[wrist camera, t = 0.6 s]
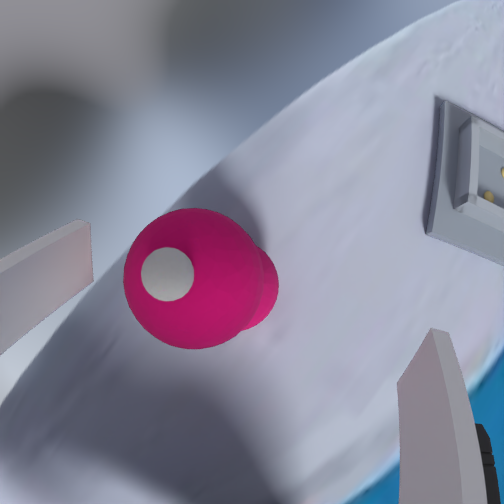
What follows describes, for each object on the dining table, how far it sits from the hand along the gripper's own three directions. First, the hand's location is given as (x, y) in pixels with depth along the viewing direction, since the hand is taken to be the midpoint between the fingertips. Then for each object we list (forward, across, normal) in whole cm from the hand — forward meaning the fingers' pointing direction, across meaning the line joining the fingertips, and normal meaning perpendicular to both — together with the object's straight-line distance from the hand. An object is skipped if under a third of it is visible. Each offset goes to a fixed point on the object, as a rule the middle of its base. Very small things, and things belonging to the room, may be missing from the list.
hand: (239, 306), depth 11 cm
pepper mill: (+16, +4, +10) cm, 19 cm away
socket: (+26, -22, -5) cm, 34 cm away
